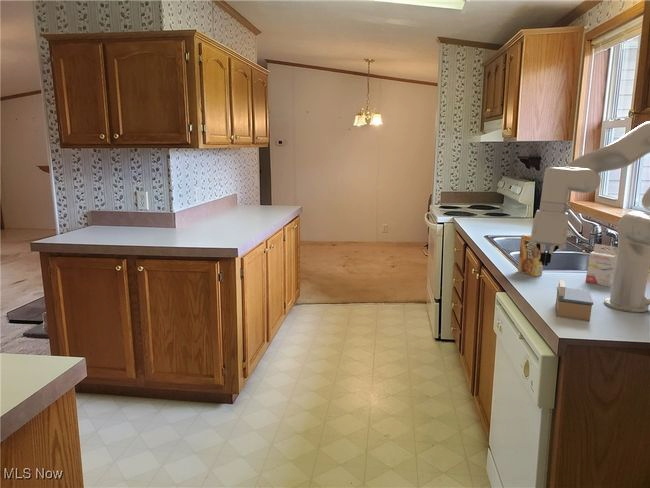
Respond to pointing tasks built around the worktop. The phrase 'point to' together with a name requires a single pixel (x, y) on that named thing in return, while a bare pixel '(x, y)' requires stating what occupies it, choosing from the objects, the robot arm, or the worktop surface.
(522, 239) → the candy box
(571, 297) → the cabinet door panel
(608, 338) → the worktop surface
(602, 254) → the ink cartridge box
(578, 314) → the cabinet body box
